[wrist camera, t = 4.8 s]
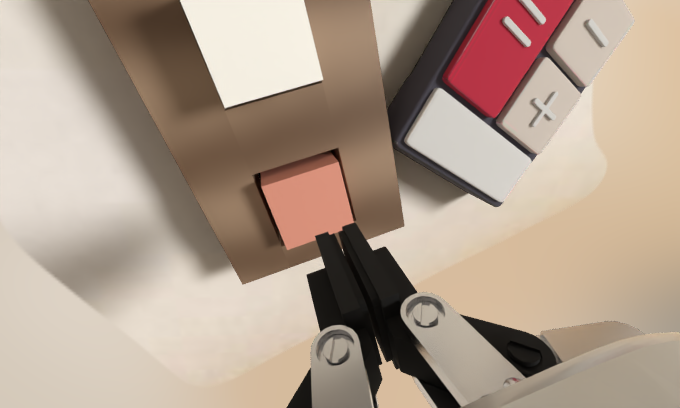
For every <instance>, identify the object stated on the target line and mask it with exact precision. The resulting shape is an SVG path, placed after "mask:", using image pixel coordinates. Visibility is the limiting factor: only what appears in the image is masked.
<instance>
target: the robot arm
mask: <svg viewBox="0 0 680 408" xmlns="http://www.w3.org/2000/svg"><path fill="white" fill-rule="evenodd" d="M338 234H339V237H340V241H341V245H342V248H343V251H342V249H341V247H340V245H339V242H338V240H337V238H336V236H335V234H334V233H333V234H330V235H329V233H328V232H325V233H322V234H319V235H316V236H315V238H316V241H317V244H318V247H319V250H320V253H321V256H322V259H323V262H324V265H325V268H324V269H321V270H318V271H316V272H313V273H310V274H307V279H308V283H309V287H310V291H311V295H312V300H313V304H314V308H315V312H316V316H317V320H318V324H319V328H320V333H319V334H318V335H317V336H316V338H315V339H314V341H313V343H312V346H311V368H310V370H309V371H308V373H307V375H306V376H305V378H304V380H303V381H302V383H301V385H300V387H299V388H298V390H297V391H296V393H295V395H294V396H293V398H292V400H291V401H290V403H289V405H288V406H287V408H379V405H378V401H377V397H376V394H377V391H378V389H379V386H380V384H381V381H382V376H381V372H380V369H379V365H381V364H382V362H381V358H380V354H379V350H378V346H377V342H378V344H379V346H380V348H381V351H382V353H383V355H384V358H385V360H386V361H387V362H388V361H391V360H392V361H393V364H394V366H395V368H396V369H400V371H401V372H403V373H406V374H408V375H411V376H412V377H413V380H414V382H415V383H416V385H417V386H418V388H419V389H420V391H421V392H422V394H423V395H424V397H425V398H426V400H427V401H428V403H429V404H430V405H431V407H432V408H680V332H667V333H652V334H646V335H645V334H644V333H643V332H641V331H640V330H639V329H636V328H634V327H632V326H630V325H628V324H625V323H620V322H617V321H604V322H598V323H591V324H585V325H579V326H572V327H566V328H559V329H552V330H546V331H541V335H536V336H534V335H532V334H529V333H526V332H523V331H520V330H516V329H512V328H508V327H505V326H501V325H497V324H494V323H490V322H486V321H483V320H479V319H474V318H471V317H468V316H463V315H460V314H459V313H457V312H456V311H455V310H454V309H453V308H452V307H451V306H450V305H449V304H448V303H447V302H446V301H445V300H444V299H442V298H441V297H439V296H438V295H435V294H433V293H426V292H422V293H417V291H416V290H415V288H414V287H413V285H412V284H411V282H410V281H409V280H408V278H407V277H406V275H405V274H404V272H403V271H402V269H401V268H400V267H399V265H398V264H397V262H396V261H395V259H394V258H393V256H392V255H391V254H390V252H389V251H388V249H387V248H386V247H382V248H379V249H377V250H374V251H373V250H372V249H371V247H370V245H369V244H368V242H367V240H366V239H365V237H364V235H363V234H362V232H361V231H360V229H359V227H358V226H357V224H356V223H355V222H354V223H351V224H348V225H345V226H342V231H339V232H338ZM343 252H344V253H343ZM344 255H345V256H344ZM375 337H376V338H375ZM376 339H377V342H376Z"/></svg>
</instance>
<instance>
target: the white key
mask: <svg viewBox="0 0 680 408" xmlns="http://www.w3.org/2000/svg"><path fill="white" fill-rule="evenodd" d="M180 2H181V4H182V7H183V9H184V11H185V14H186V16H187V19H188V21H189V23H190V26H191V28H192V31H193V33H194V35H195V38H196V40H197V43H198V45H199V47H200V50H201V52H202V55H203V57H204V59H205V62H206V64H207V67H208V69H209V71H210V74H211V76H212V79H213V81H214V83H215V86H216V88H217V91H218V93H219V95H220V98H221V100H222V103H223V105H224V107H225V108H227V107H230V106H234V105H237V104H241V103H244V102H248V101H251V100H255V99H258V98H262V97H265V96H269V95H272V94H276V93H279V92H283V91H286V90H290V89H293V88H297V87H300V86H304V85H307V84H311V83H314V82H317V81H321V80H323V76H322V72H321V68H320V64H319V60H318V56H317V52H316V48H315V44H314V40H313V35H312V31H311V27H310V23H309V19H308V15H307V11H306V7H305V3H304V0H180Z"/></svg>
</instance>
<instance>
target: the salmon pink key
mask: <svg viewBox="0 0 680 408" xmlns="http://www.w3.org/2000/svg"><path fill="white" fill-rule="evenodd" d="M260 174H261V187H262V190H263V192H264V195H265V197H266V200H267V202H268V205H269V207H270V209H271V212H272V214H273V217H274V219H275V222H276V224H277V226H278V229H279V231H280V234H281V236H282V239H283V241H284V244H285V246H286V248H287V250H289V249H292V248H295V247H298V246H300V245H303V244H306V243H309V242H312V241H315V240H316V238H315V236H316V235H319V234H322V233H325V232H328V233H329V235H330V234H333V233H337V232H339V231H342V226H345V225H348V224H351V223H354V221H353V217H352V213H351V209H350V205H349V201H348V197H347V193H346V189H345V185H344V181H343V177H342V173H341V169H340V165H339V162H338V161H337V159H336V158H335V157H334V156H333V154H332V153H331V152H330V151H326V152H323V153H320V154H317V155H313V156H310V157H307V158H304V159H301V160H298V161H295V162H291V163H288V164H285V165H282V166H279V167H276V168H273V169H269V170H266V171H263V172H260Z"/></svg>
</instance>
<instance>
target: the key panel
mask: <svg viewBox="0 0 680 408" xmlns="http://www.w3.org/2000/svg"><path fill="white" fill-rule="evenodd" d="M88 1H89V3H90V5H91V6H92V8H93V10H94V12H95V14H96V16H97V17H98V19H99V21H100V23H101V25H102V27H103V28H104V30H105V32H106V34H107V36H108V38H109V40H110V41H111V43H112V45H113V47H114V49H115V51H116V52H117V54H118V56H119V58H120V60H121V62H122V63H123V65H124V67H125V69H126V71H127V73H128V74H129V76H130V78H131V80H132V82H133V84H134V85H135V87H136V89H137V91H138V93H139V95H140V97H141V98H142V100H143V102H144V104H145V106H146V108H147V109H148V111H149V113H150V115H151V117H152V119H153V120H154V122H155V124H156V126H157V128H158V130H159V131H160V133H161V135H162V137H163V139H164V141H165V143H166V144H167V146H168V148H169V150H170V152H171V154H172V155H173V157H174V159H175V161H176V163H177V165H178V166H179V168H180V170H181V172H182V174H183V176H184V177H185V179H186V181H187V183H188V185H189V187H190V188H191V190H192V192H193V194H194V196H195V198H196V200H197V201H198V203H199V205H200V207H201V209H202V211H203V212H204V214H205V216H206V218H207V220H208V222H209V223H210V225H211V227H212V229H213V231H214V233H215V234H216V236H217V238H218V240H219V242H220V244H221V246H222V247H223V249H224V251H225V253H226V255H227V257H228V258H229V260H230V262H231V264H232V266H233V268H234V269H235V271H236V273H237V275H238V277H239V279H240V280H241V282H242V284H246V283H249V282H251V281H254V280H257V279H260V278H263V277H265V276H268V275H271V274H274V273H276V272H279V271H282V270H285V269H287V268H290V267H293V266H296V265H298V264H301V263H304V262H307V261H310V260H312V259H315V258H318V257H321V253H320V250H319V247H318V244H317V241H316V240H315V241H312V242H309V243H306V244H303V245H300V246H298V247H295V248H292V249H289V250H287V248H286V246H285V244H284V241H283V239H282V236H281V234H280V231H279V229H278V226H277V224H276V222H275V219H274V217H273V214H272V212H271V209H270V207H269V205H268V202H267V200H266V197H265V195H264V192H263V190H262V187H261V181H260V179H259V176H258V174H257V173H260V172H263V171H266V170H269V169H273V168H276V167H279V166H282V165H285V164H288V163H291V162H295V161H298V160H301V159H304V158H307V157H310V156H313V155H317V154H320V153H323V152H326V151H329V150H331V152H332V154H333V156H334V157H335V158H336V159H337V161H338V162H339V165H340V169H341V173H342V177H343V181H344V185H345V189H346V193H347V197H348V201H349V205H350V209H351V213H352V217H353V221H354V222H355V223H356V224H357V226H358V227H359V229H360V231H361V232H362V234H363V235H364V237H365V239H366V240H368V239H370V238H373V237H376V236H379V235H381V234H384V233H387V232H390V231H393V230H395V229H398V228H401V227H404V220H403V213H402V206H401V200H400V193H399V187H398V180H397V174H396V167H395V160H394V154H393V147H392V141H391V134H390V128H389V121H388V114H387V108H386V101H385V95H384V88H383V81H382V75H381V68H380V62H379V55H378V49H377V42H376V35H375V29H374V22H373V16H372V9H371V3H370V0H304V3H305V7H306V11H307V15H308V19H309V23H310V27H311V31H312V35H313V40H314V44H315V48H316V52H317V56H318V60H319V64H320V68H321V72H322V76H323V80H321V81H317V82H314V83H311V84H307V85H304V86H300V87H297V88H293V89H290V90H286V91H283V92H279V93H276V94H272V95H269V96H265V97H262V98H258V99H255V100H251V101H248V102H244V103H241V104H237V105H234V106H230V107H227V108H225V107H224V105H223V103H222V100H221V98H220V95H219V93H218V91H217V88H216V86H215V83H214V81H213V79H212V76H211V74H210V71H209V69H208V67H207V64H206V62H205V59H204V57H203V55H202V52H201V50H200V47H199V45H198V43H197V40H196V38H195V35H194V33H193V31H192V28H191V26H190V23H189V21H188V19H187V16H186V14H185V11H184V9H183V7H182V4H181V2H180V0H88ZM334 234H335V236H336V238H337V240H338V242H339V245H340V247H341V249H343V248H342V245H341V241H340V237H339V234H338V232H337V233H334Z"/></svg>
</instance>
